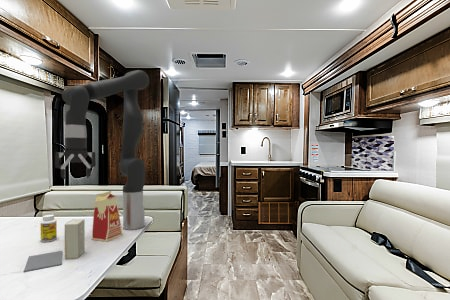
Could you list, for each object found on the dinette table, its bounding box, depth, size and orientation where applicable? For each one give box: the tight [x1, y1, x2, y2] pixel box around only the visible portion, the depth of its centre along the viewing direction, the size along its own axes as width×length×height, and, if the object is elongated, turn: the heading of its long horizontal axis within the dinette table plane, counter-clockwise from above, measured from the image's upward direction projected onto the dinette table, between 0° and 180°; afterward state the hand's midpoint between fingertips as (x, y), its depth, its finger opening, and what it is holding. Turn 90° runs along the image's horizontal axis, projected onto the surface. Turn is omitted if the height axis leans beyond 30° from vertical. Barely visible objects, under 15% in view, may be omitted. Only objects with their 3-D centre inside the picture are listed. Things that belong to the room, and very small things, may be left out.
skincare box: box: [64, 218, 86, 260], centre depth 95 cm, size 6×4×12 cm
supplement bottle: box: [40, 214, 58, 243], centre depth 111 cm, size 6×6×10 cm
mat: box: [23, 250, 63, 273], centre depth 91 cm, size 10×13×1 cm
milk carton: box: [91, 190, 124, 243], centre depth 114 cm, size 9×9×20 cm
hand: (76, 178), depth 106 cm, fingers open, 7 cm apart
